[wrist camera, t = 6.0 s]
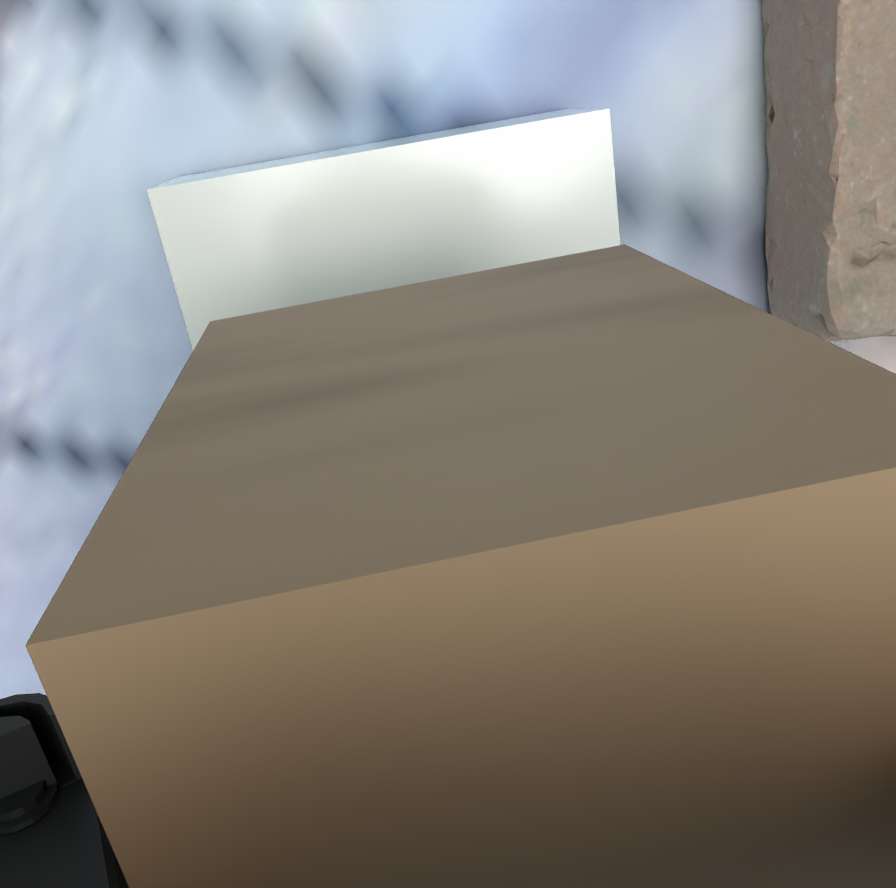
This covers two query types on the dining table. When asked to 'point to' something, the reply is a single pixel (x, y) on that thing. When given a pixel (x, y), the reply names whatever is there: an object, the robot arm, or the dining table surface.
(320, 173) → the stone plinth
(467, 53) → the dining table surface
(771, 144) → the brick
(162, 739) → the walnut block
